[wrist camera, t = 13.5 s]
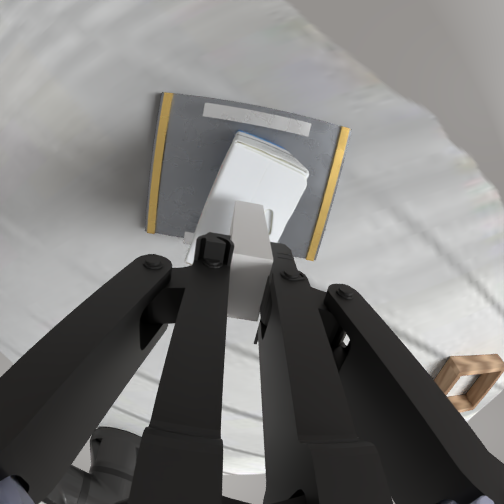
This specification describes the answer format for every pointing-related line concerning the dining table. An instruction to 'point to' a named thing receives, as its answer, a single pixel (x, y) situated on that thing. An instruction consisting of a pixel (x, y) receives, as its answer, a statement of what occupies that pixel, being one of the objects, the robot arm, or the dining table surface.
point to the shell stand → (470, 365)
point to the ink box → (252, 187)
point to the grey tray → (213, 153)
